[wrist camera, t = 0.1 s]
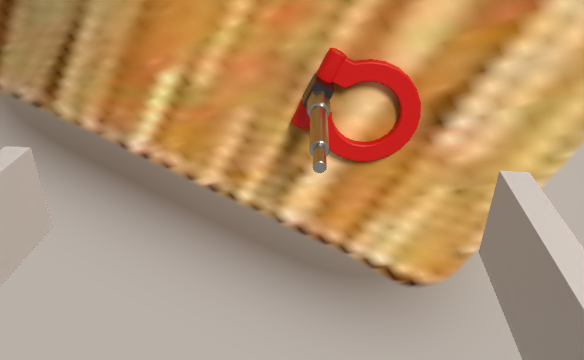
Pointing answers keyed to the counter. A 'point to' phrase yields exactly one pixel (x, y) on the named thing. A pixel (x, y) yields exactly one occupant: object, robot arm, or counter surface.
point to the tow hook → (345, 74)
